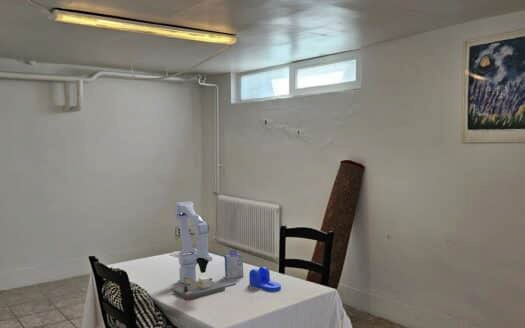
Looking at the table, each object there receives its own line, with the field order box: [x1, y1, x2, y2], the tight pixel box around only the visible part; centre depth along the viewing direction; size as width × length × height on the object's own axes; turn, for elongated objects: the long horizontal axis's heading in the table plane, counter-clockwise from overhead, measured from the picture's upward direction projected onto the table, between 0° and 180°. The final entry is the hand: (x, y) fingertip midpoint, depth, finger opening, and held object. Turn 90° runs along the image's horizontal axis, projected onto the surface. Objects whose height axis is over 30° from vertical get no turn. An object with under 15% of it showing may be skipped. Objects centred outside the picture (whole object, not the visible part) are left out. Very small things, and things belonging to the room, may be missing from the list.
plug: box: [198, 276, 213, 289], centre depth 246 cm, size 5×7×6 cm
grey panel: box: [173, 280, 226, 301], centre depth 243 cm, size 14×22×2 cm, turn 130°
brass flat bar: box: [183, 278, 203, 291], centre depth 233 cm, size 2×14×6 cm, turn 45°
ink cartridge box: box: [223, 249, 244, 279], centre depth 268 cm, size 10×6×14 cm, turn 112°
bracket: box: [249, 266, 282, 292], centre depth 249 cm, size 18×8×9 cm, turn 42°
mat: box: [214, 279, 236, 288], centre depth 254 cm, size 9×9×1 cm
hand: (203, 272), depth 243 cm, fingers closed
